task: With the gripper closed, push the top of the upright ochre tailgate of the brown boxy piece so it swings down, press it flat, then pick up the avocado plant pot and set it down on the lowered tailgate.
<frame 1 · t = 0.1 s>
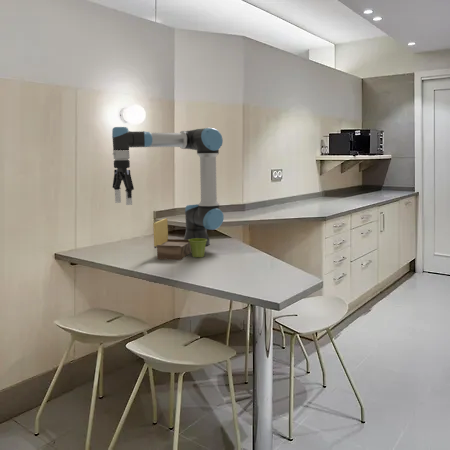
hand: (123, 203, 243), 28 cm above the table, fingers open, 13 cm apart
brown boxy piece: (174, 255, 255), on the table
plant pot: (198, 256, 252), on the table
tailgate: (161, 232, 255), point 12 cm above the table, hinge at 0.0°
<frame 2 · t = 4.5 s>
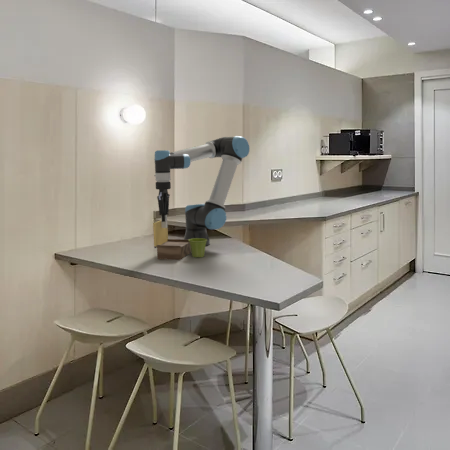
hand: (164, 227, 254), 14 cm above the table, fingers closed
tailgate: (160, 232, 255), point 12 cm above the table, hinge at 0.6°, touching gripper
everything else where it was.
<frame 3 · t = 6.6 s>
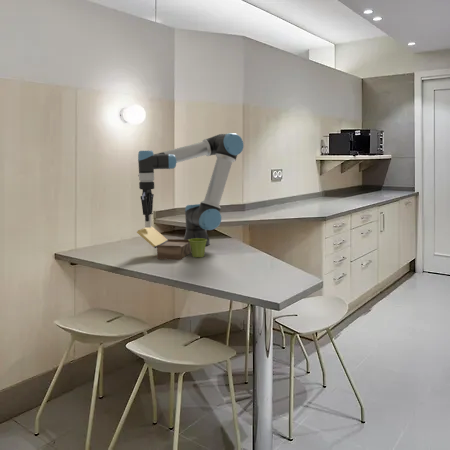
hand: (148, 227, 256), 14 cm above the table, fingers closed
tailgate: (153, 236, 256), point 10 cm above the table, hinge at 49.6°
everything else where it was.
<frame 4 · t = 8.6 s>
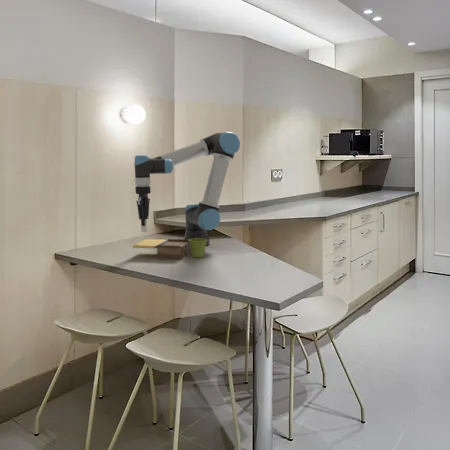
hand: (144, 231, 256), 12 cm above the table, fingers closed
tailgate: (150, 243, 257), point 6 cm above the table, hinge at 90.2°
everything else where it was.
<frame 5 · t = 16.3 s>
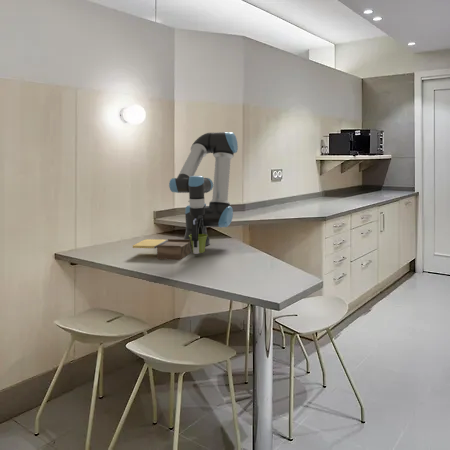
hand: (198, 251, 253), 2 cm above the table, fingers closed on plant pot, 8 cm apart
plant pot: (198, 252, 253), point 2 cm above the table, touching gripper
everything else where it was.
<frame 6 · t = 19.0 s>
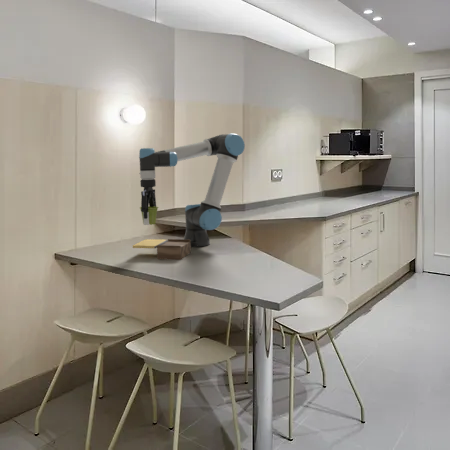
hand: (149, 223, 255), 16 cm above the table, fingers closed on plant pot, 8 cm apart
plant pot: (149, 224, 255), point 16 cm above the table, touching gripper
everything else where it was.
when the fingers open (7 cm above the table, at t = 21.5 s): plant pot stays where it is, resting on tailgate.
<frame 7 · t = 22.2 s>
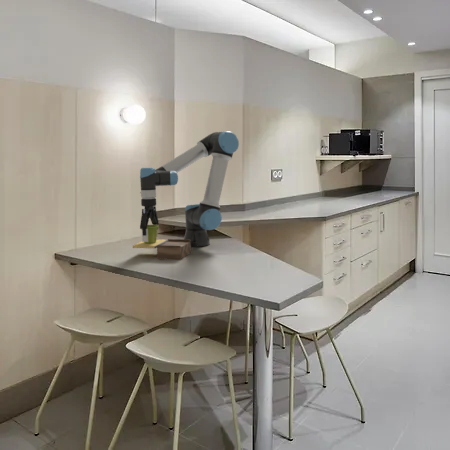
hand: (150, 239, 256), 8 cm above the table, fingers open, 13 cm apart
plant pot: (150, 242, 257), point 6 cm above the table, touching tailgate
tailgate: (150, 243, 257), point 6 cm above the table, hinge at 90.3°, touching plant pot
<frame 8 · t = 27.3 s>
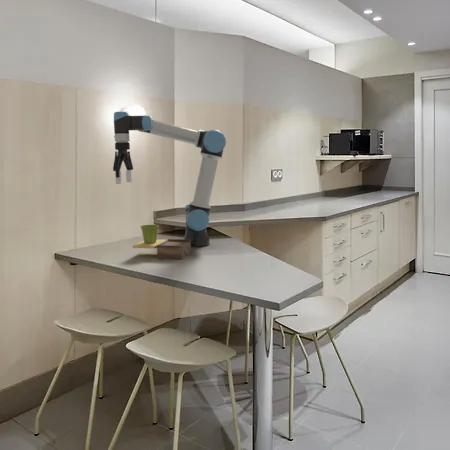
hand: (124, 183, 262), 37 cm above the table, fingers open, 13 cm apart
nothing on the table moved.
at the end: tailgate at +90° (first picture: +0°); plant pot inside the target area (0.2 cm from its centre), point 6.4 cm above the table; plant pot touching tailgate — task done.
